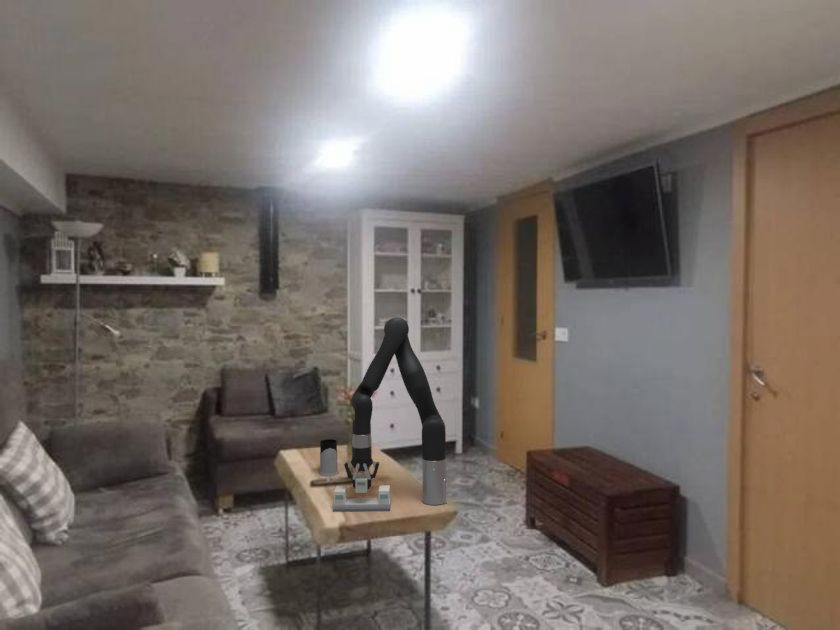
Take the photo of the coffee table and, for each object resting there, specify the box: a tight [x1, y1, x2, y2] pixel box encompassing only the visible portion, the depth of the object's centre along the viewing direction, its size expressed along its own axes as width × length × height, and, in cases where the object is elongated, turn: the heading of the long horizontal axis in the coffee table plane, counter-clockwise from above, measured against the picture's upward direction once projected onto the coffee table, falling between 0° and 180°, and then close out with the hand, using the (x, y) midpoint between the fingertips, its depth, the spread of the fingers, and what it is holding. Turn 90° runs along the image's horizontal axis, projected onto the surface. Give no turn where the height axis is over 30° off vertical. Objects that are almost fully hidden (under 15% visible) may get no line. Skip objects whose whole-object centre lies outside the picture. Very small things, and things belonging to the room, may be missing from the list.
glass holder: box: [318, 438, 339, 477], centre depth 277 cm, size 9×14×15 cm, turn 16°
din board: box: [332, 484, 392, 513], centre depth 231 cm, size 22×12×7 cm, turn 91°
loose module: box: [355, 473, 369, 494], centre depth 231 cm, size 4×7×5 cm, turn 0°
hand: (362, 488), depth 231 cm, fingers closed on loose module, 4 cm apart
